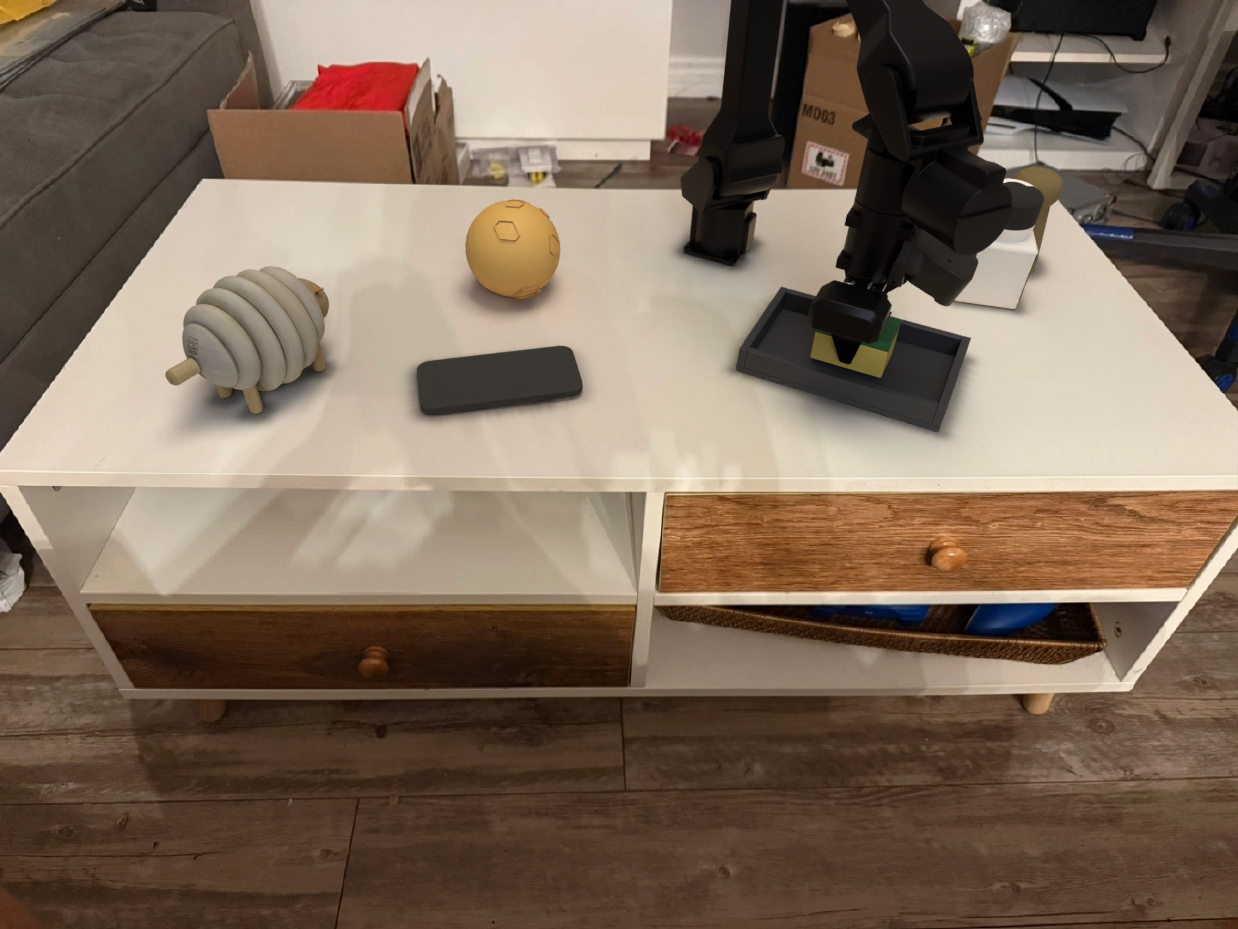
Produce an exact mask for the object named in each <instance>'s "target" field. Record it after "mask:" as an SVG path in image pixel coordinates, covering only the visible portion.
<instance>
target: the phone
mask: <svg viewBox="0 0 1238 929" xmlns="http://www.w3.org/2000/svg"><path fill="white" fill-rule="evenodd" d="M416 374H417V375H416V376H417V386H418V397H419V404H420V409H421V410H422V412H423V413H425V414H428V415H437V414H445V413H455V412H461V411H469V410H478V409H485V408H492V407H494V408H495V407H501V406H509V405H518V404H524V403H525V404H526V403H534V402H540V401H542V402H543V401H548V400H549V401H550V400H556V399H557V400H558V399H565V398H572V397H577V396H579V395H580V394H582V392H583V388H584V387H583V385H584V384H583V379H582V375H581V372H580V370H579V365H578V363H577V360H576V356H575V353H574V351H573V349H572V348H571V347H570V346H566V345H553V346H544V347H535V348H527V349H519V350H511V351H510V350H509V351H502V352H501V351H500V352H493V353H485V354H475V355H467V356H459V357H458V356H457V357H449V358H442V359H441V358H440V359H433V360H427V361H423V362H421V363H420V364H418V366H417V367H416Z"/></svg>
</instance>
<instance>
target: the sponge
mask: <svg viewBox="0 0 1238 929" xmlns="http://www.w3.org/2000/svg"><path fill="white" fill-rule="evenodd" d="M892 317H893V316H892ZM892 317H889V319H888V321H887V323H886V325H885V328H884V330H883V332H882V334H881V336H880V338H879V340H878V342H877V343H872V344H867V343H864V342H862V343H861V345H860V347H859V349H858V351H857V353H856V355H855V357H854V359H853V361H852V363H851V364H845V363H842V362H840V361H839V358H838V355H837V352H836V349H835V346H834V342H833V339H832V336H831V333H828V332H825V331H821V330H817V329H816V332H815V337H814V341H813V346H812V351H811V355H810V358H813V359H817V360H820V361H824V362H827V363H830V364H834V365H837V366H841V367H844V368H848V369H851V370H854V371H858V372H861V373H865V374H868V375H872V376H875V377H878V378H881V377H882V374H883V372H884V370H885V368H886V366H887V364H888V361H889V359H890V357H891V355H892V352H893V349H894V345H895V342H896V338H897V335H898V331H899V328H900V324H901V320H900V319H901V318H899V319H896V318H897V317H895V318H892Z"/></svg>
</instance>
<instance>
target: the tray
mask: <svg viewBox="0 0 1238 929" xmlns="http://www.w3.org/2000/svg"><path fill="white" fill-rule="evenodd" d="M815 297H816V295H814V294H810V293H806V292H802V291H799V290H795V289H792V288H788V287H785V286H780V287H779V289H778V290H777V292H775V295H774V297H772V298H771V301H770V302H769V304H768V305H767V307H766V308H765V310H764V311H763V312H762V314H761V316H760V317H759V319H758V320H757V322H756V323H755V325H754V326H753V327H752V328H751V330H750V332H749V334H748V335H747V337H746V338H745V340H744V341H743V343H741V345H740V346H739V348H738V355H737V360H736V366H735V367H736V369H735V370H736V371H737V372H740V373H744V374H747V375H750V376H753V377H756V378H760V379H763V380H766V381H770V382H773V383H776V384H780V385H783V386H787V387H789V388H793V389H796V390H800V391H803V392H805V393H809V394H812V395H815V396H820V397H822V398H825V399H828V400H832V401H835V402H839V403H841V404H845V405H849V406H851V407H855V408H858V409H862V410H865V411H868V412H872V413H875V414H878V415H882V416H883V417H887V418H890V419H891V418H892V419H894V420H897V421H901V422H904V423H908V424H910V425H914V426H918V427H921V428H923V429H926V430H930V431H934V432H937V433H939V431H940V429H941V426H942V424H943V421H944V418H945V415H946V413H947V409H948V406H949V404H950V400H951V398H952V396H953V393H954V389H955V386H956V383H957V381H958V377H959V375H960V372H961V369H962V367H963V363H964V360H965V357H966V354H967V351H968V348H969V345H970V342H971V341H972V340H971V339H972V337H969V336H965V335H962V334H958V333H955V332H951V331H947V330H943V329H940V328H936V327H932V326H929V325H925V324H921V323H917V322H913V321H910V320H907V319H903V318H899V317H895V316H891V315H890V317H892V318H896V319H900V320H901V324H900V328H899V331H898V335H897V338H896V342H895V345H894V349H893V352H892V355H891V357H890V359H889V361H888V364H887V366H886V368H885V370H884V372H883V374H882V377H881V378H878V377H875V376H872V375H868V374H865V373H861V372H858V371H854V370H851V369H848V368H844V367H841V366H837V365H834V364H830V363H827V362H824V361H820V360H817V359H813V358H810V355H811V351H812V346H813V341H814V337H815V332H816V329H814V328H811V327H810V326H809V325H808V323H807V320H808V315H809V310H810V305H811V303H812V302H813V300H814V298H815Z"/></svg>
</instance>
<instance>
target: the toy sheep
mask: <svg viewBox="0 0 1238 929" xmlns="http://www.w3.org/2000/svg"><path fill="white" fill-rule="evenodd" d="M329 309H330V300H329V297H328V295H327V293H326V291H325V287H320V286H319V285H318V284H317V283H315V282H313V281H311V280H308V279H306V278H301V277H297V276H296V275H295V274H293V273H292V272H291V271H289V270H287V269H285V268H283V267H279V266H273V265H269V266H268V265H267V266H264V267H261V268H259V269H258V270H257V269H253V268H252V269H251V268H250V269H249V268H248V269H244V270H242V271H239V272H238V273H236V275H227V276H224V277H221V278H220V279H218V280H217V281H216V282H215V283H214V284H213V287H212V288H209V289H206V290H204V291H203V292H202V293H201V294H199V296H198V298H197V299H196V302H195V305H193V306H191V307H190V308H189V309H188V310H187V311H186V312H185V314H184V317H183V320H182V328H183V330H182V336H181V338H182V340H181V341H182V349H183V352H184V356H185V358H186V359H184V360H183V361H181V362H179V363H177V364H176V365H174V366H172V367H170V368H168V369H167V370H166V371H165V373H164V374H165V379H166V380H167V382H168V383H169V384H170V385H172V386H174V387H175V386H176V387H177V386H180V385H181V384H183V383H185V382H187V381H188V380H190V379H192V378H193V377H195V376H197V375H199V376H200V377H202V379H204V380H206V381H207V382H209V383H212V384H214V385H215V388H216V391H217V394H218V396H219V397H220V398H221V399H229V398H230V397H231V396H232V395H233V393H234V392H233V391H234V390H239V391H242V393H243V396H244V399H245V402H246V405H247V408H248V411H249V412H250V413H251V414H253V415H258V414H260V413H262V412H263V411H264V404H263V401H262V399H261V395H260V392H259V391H261V392H270V391H274V390H277V389H278V388H279V387H280V386H281V385H283V384H284V385H285V384H290V383H293V382H295V381H296V380H297V379H298V378H299V377H300V376H301V374H302V372H303V370H304V369H306V368H308V367H309V366H311V367H312V369H313V370H314V371H316V372H320V373H321V372H323V371H325V370H326V368H327V362H326V359H325V356H324V351H323V349H322V344H321V341H322V340H323V338H324V335H325V330H326V322H325V318H326V317H327V315H328V313H329ZM233 389H234V390H233Z"/></svg>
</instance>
